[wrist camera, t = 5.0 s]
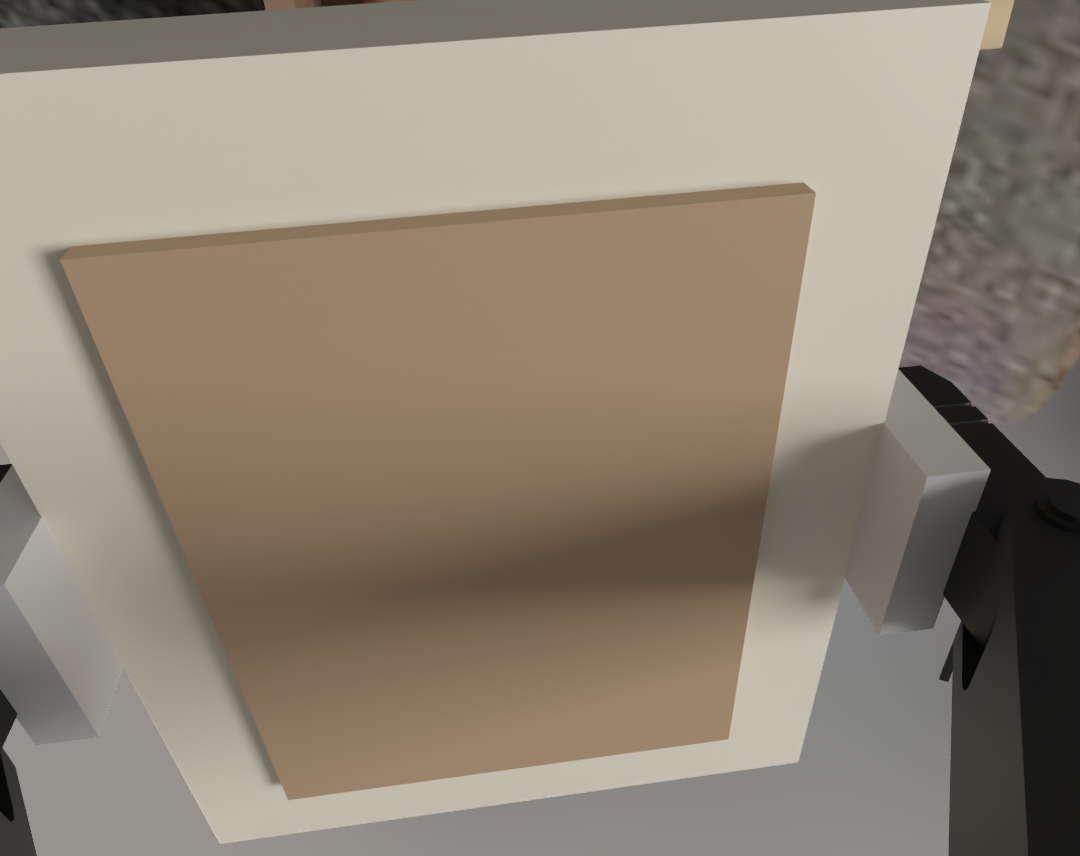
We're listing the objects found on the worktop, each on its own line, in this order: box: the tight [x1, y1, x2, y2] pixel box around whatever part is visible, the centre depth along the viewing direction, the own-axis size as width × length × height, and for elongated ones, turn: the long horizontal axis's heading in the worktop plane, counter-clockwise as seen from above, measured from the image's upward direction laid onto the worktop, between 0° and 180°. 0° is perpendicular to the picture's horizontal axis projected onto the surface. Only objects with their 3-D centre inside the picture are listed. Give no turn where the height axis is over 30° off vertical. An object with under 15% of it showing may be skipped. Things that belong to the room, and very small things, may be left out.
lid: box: [0, 0, 991, 844], centre depth 11 cm, size 12×10×3 cm
